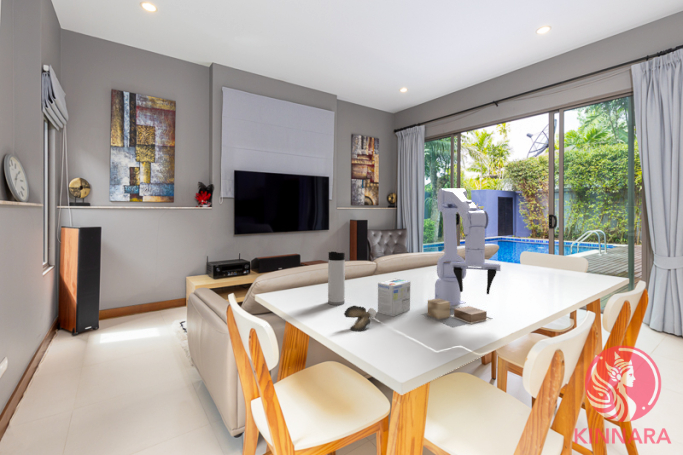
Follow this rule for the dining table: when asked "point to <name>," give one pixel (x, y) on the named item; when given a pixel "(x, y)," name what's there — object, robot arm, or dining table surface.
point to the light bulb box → (393, 297)
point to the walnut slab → (470, 314)
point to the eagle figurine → (360, 317)
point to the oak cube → (438, 308)
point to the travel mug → (336, 278)
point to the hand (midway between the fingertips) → (474, 292)
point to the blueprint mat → (454, 319)
